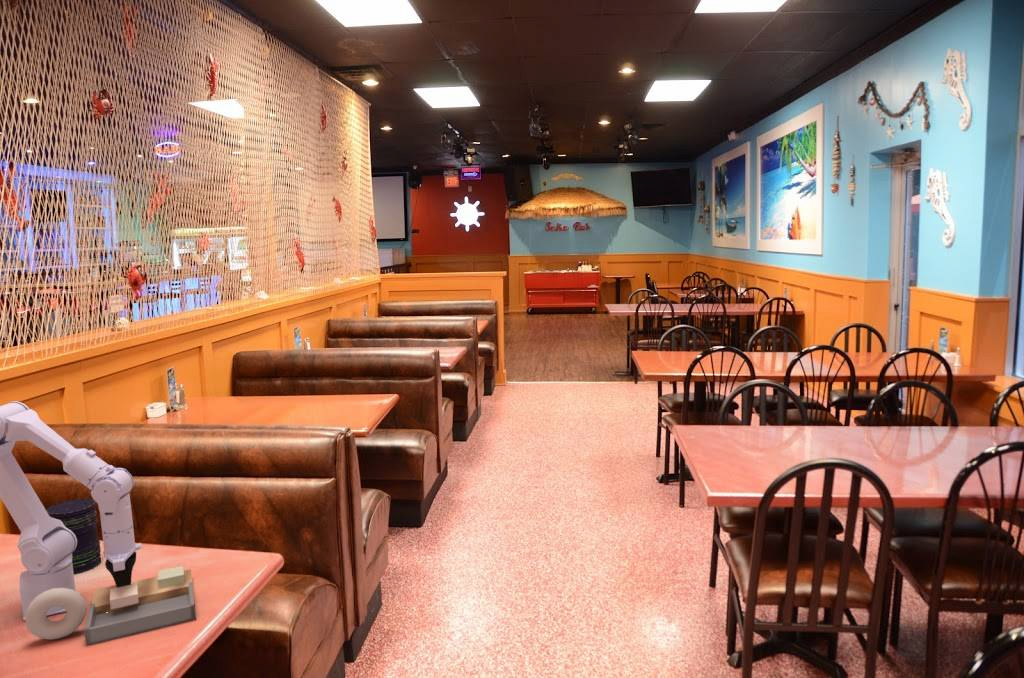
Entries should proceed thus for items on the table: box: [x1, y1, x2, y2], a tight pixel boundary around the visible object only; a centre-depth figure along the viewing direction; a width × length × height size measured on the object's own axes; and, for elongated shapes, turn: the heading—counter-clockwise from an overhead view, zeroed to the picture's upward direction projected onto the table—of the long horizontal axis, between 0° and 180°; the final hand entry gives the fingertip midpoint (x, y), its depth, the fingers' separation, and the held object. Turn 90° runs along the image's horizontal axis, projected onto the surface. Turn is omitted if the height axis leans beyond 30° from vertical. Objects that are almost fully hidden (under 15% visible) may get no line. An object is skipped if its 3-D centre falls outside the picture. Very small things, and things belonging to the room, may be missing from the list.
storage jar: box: [46, 498, 102, 575], centre depth 168 cm, size 10×10×15 cm
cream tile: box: [110, 583, 139, 609], centre depth 147 cm, size 5×5×2 cm
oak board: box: [91, 569, 193, 615], centre depth 153 cm, size 19×9×2 cm, turn 116°
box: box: [84, 581, 197, 646], centre depth 143 cm, size 19×12×3 cm, turn 116°
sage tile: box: [157, 565, 185, 589], centre depth 155 cm, size 5×5×2 cm
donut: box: [24, 588, 87, 641], centre depth 137 cm, size 10×4×10 cm, turn 117°
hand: (124, 590), depth 150 cm, fingers closed
